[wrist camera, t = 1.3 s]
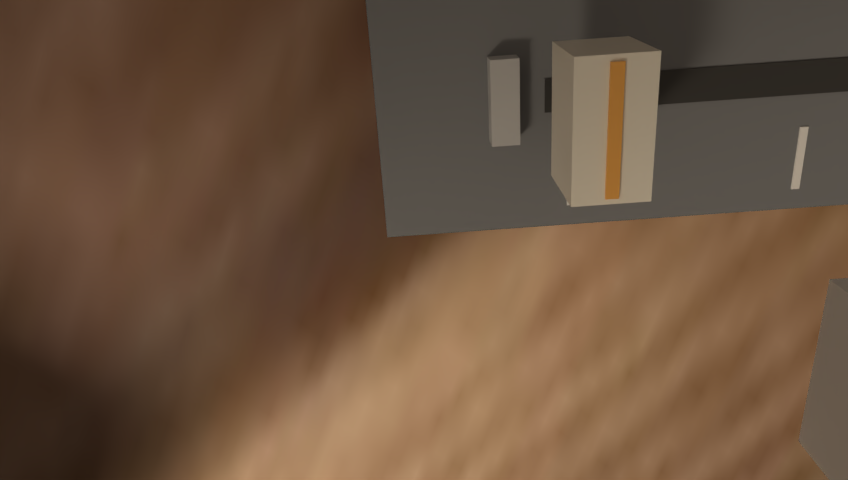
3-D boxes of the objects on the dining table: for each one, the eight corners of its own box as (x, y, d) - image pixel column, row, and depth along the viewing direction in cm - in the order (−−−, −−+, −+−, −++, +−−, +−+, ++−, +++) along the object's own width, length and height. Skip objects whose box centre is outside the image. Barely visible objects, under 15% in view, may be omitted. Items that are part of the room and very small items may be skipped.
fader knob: (540, 158, 26) (571, 208, 21) (540, 33, 24) (575, 57, 19) (606, 153, 26) (652, 202, 21) (611, 28, 24) (662, 51, 19)
